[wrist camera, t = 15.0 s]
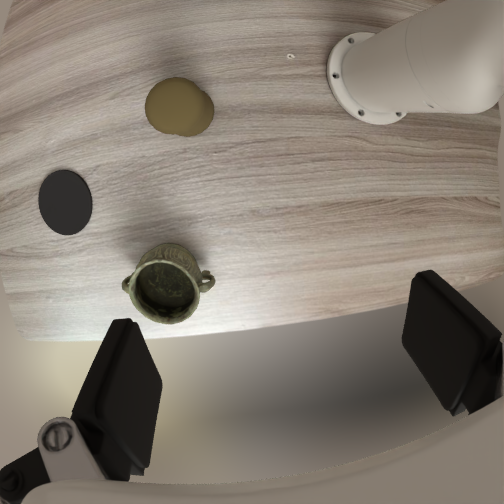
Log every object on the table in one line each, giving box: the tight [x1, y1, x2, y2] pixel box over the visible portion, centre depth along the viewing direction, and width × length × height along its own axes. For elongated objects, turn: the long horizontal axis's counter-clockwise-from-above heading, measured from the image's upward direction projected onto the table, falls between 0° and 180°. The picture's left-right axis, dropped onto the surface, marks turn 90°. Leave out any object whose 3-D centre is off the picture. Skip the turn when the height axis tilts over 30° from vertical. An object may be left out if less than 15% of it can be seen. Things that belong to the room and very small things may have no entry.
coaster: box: [39, 170, 92, 235], centre depth 34 cm, size 9×9×1 cm
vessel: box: [122, 243, 215, 324], centre depth 36 cm, size 12×9×6 cm
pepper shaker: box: [145, 77, 214, 137], centre depth 26 cm, size 6×6×11 cm
